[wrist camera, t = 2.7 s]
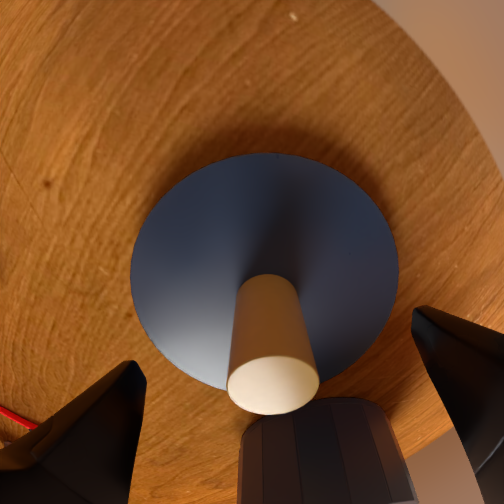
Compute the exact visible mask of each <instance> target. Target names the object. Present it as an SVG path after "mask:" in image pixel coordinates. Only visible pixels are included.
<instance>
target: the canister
mask: <svg viewBox="0 0 504 504" xmlns="http://www.w3.org/2000/svg"><path fill="white" fill-rule="evenodd" d="M237 504H419V501H418V498H417V495H416V492H415V489H414V486H413V483H412V480H411V477H410V474H409V471H408V468H407V466H406V463H405V460H404V457H403V455H402V452H401V449H400V447H399V444H398V441H397V439H396V436H395V434H394V431H393V429H392V426H391V423H390V421H389V420H388V418H387V416H386V414H385V412H384V410H383V409H382V408H381V407H380V406H378V405H377V404H375V403H373V402H371V401H368V400H364V399H358V398H345V397H341V398H327V399H319V400H313V401H309V402H308V403H306V404H305V405H304V406H302V407H300V408H298V409H296V410H294V411H291V412H287V413H283V414H276V415H267V416H265V417H263V418H261V419H260V420H258V421H257V422H255V423H254V424H253V425H252V426H251V427H249V428H248V429H247V431H246V432H245V433H244V435H243V437H242V439H241V446H240V450H239V465H238V487H237Z"/></svg>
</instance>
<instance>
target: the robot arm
mask: <svg viewBox="0 0 504 504" xmlns="http://www.w3.org/2000/svg"><path fill="white" fill-rule="evenodd" d="M411 333H412V337H413V339H414V341H415V344H416V346H417V348H418V351H419V353H420V356H421V358H422V361H423V363H424V366H425V368H426V370H427V373H428V375H429V377H430V379H431V381H432V382H433V384H434V386H435V388H436V390H437V392H438V394H439V396H440V398H441V400H442V402H443V404H444V406H445V408H446V410H447V412H448V414H449V416H450V418H451V420H452V422H453V425H454V427H455V429H456V431H457V433H458V435H459V438H460V440H461V442H462V445H463V447H464V449H465V452H466V454H467V456H468V459H469V461H470V464H471V466H472V469H473V472H474V473H475V477H476V480H477V483H478V485H479V488H480V491H481V494H482V497H483V500H484V503H485V504H504V334H502V333H499V332H497V331H494V330H492V329H489V328H486V327H484V326H481V325H478V324H476V323H473V322H470V321H468V320H465V319H462V318H460V317H457V316H454V315H452V314H449V313H446V312H443V311H441V310H438V309H435V308H433V307H430V306H427V305H422V306H419V307H416V308H414V310H413V314H412V325H411ZM146 387H147V380H146V377H145V375H144V374H143V372H142V370H141V369H140V367H139V365H138V364H137V362H136V361H134V360H128V361H123V362H122V363H120V364H119V365H118V366H117V367H115V368H114V369H113V370H111V371H110V372H109V373H107V374H106V375H105V376H104V377H102V378H101V379H100V380H98V381H97V382H96V383H94V384H93V385H92V386H90V387H89V388H88V389H87V390H85V391H84V392H83V393H81V394H80V395H79V396H77V397H76V398H75V399H73V400H72V401H71V402H70V403H68V404H67V405H66V406H64V407H63V408H62V409H60V410H59V411H58V412H56V413H55V414H54V416H51V417H50V418H48V419H47V420H46V421H44V422H43V423H42V424H40V425H39V426H37V427H36V428H35V429H33V430H32V431H30V432H29V433H27V434H26V435H24V436H22V437H21V438H19V439H18V440H16V441H14V442H13V443H11V444H10V445H8V446H6V447H5V448H3V449H0V504H128V498H129V492H130V486H131V479H132V474H133V468H134V462H135V457H136V452H137V447H138V442H139V437H140V432H141V427H142V422H143V414H144V405H145V396H146Z"/></svg>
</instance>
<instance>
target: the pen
mask: <svg viewBox="0 0 504 504" xmlns="http://www.w3.org/2000/svg"><path fill="white" fill-rule="evenodd" d="M0 413H1V414H3V415H5V416H6V417H8V418H10V419H11V420H13V421H15V422H17V423H19V424H21V425H23V426H24V427H26V428H28V429H29V431H32V430H33V429H35V428H36V427H37V426H38V425H36V424H34V423H32V422H30V421H27V420H25V419H24V418H22V417H20V416H18V415H16V414H14V413H12V412H10V411H9V410H7V409H5V408H3V407H1V406H0Z"/></svg>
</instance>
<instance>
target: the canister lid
mask: <svg viewBox="0 0 504 504" xmlns="http://www.w3.org/2000/svg"><path fill="white" fill-rule="evenodd" d="M398 277H399V266H398V255H397V250H396V246H395V241H394V238H393V235H392V233H391V230H390V228H389V225H388V223H387V221H386V219H385V218H384V216H383V214H382V212H381V211H380V209H379V208H378V206H377V205H376V204H375V203H374V201H373V200H372V199H371V198H370V196H369V195H368V194H367V193H366V192H365V191H364V190H363V189H362V188H360V187H359V186H358V185H357V184H356V183H355V182H354V181H352V180H351V179H349V178H348V177H346V176H345V175H343V174H342V173H340V172H339V171H337V170H335V169H333V168H331V167H329V166H327V165H325V164H322V163H320V162H318V161H315V160H311V159H308V158H304V157H301V156H297V155H290V154H282V153H250V154H244V155H238V156H233V157H229V158H226V159H223V160H220V161H217V162H214V163H211V164H209V165H207V166H205V167H203V168H201V169H199V170H197V171H195V172H193V173H191V174H190V175H188V176H187V177H185V178H184V179H182V180H181V181H180V182H178V183H177V184H175V185H174V186H173V187H172V188H171V189H170V190H169V191H168V192H167V193H166V194H165V195H164V196H163V197H162V198H161V199H160V200H159V201H158V203H157V204H156V205H155V206H154V208H153V209H152V210H151V211H150V213H149V215H148V216H147V218H146V220H145V222H144V223H143V225H142V227H141V229H140V232H139V234H138V237H137V240H136V242H135V245H134V250H133V255H132V259H131V272H130V281H131V293H132V297H133V302H134V306H135V309H136V312H137V315H138V317H139V320H140V322H141V324H142V326H143V328H144V330H145V332H146V333H147V335H148V337H149V338H150V339H151V341H152V342H153V344H154V345H155V346H156V348H157V349H158V350H159V351H160V352H161V353H162V354H163V355H164V356H165V357H166V358H167V359H168V360H169V361H170V362H171V363H173V364H174V365H175V366H176V367H177V368H179V369H180V370H182V371H183V372H185V373H186V374H188V375H189V376H191V377H193V378H195V379H197V380H199V381H201V382H203V383H205V384H208V385H210V386H213V387H215V388H218V389H222V390H226V391H227V393H228V395H229V397H230V398H231V400H232V401H233V402H234V403H235V404H236V405H238V406H239V407H241V408H242V409H244V410H247V411H249V412H252V413H257V414H263V415H276V414H283V413H287V412H291V411H294V410H296V409H298V408H300V407H302V406H304V405H305V404H306V403H308V402H309V401H310V400H311V399H312V398H313V397H314V395H315V394H316V392H317V390H318V387H319V384H320V383H322V382H324V381H327V380H329V379H331V378H332V377H334V376H336V375H337V374H339V373H341V372H343V371H344V370H345V369H347V368H348V367H349V366H351V365H352V364H353V363H355V362H356V361H357V360H358V359H359V358H360V357H361V356H362V355H363V354H364V353H365V352H366V351H367V350H368V349H369V348H370V346H371V345H372V344H373V343H374V342H375V340H376V339H377V337H378V336H379V334H380V333H381V331H382V330H383V328H384V326H385V324H386V322H387V320H388V318H389V316H390V314H391V311H392V308H393V305H394V302H395V298H396V293H397V288H398Z"/></svg>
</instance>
